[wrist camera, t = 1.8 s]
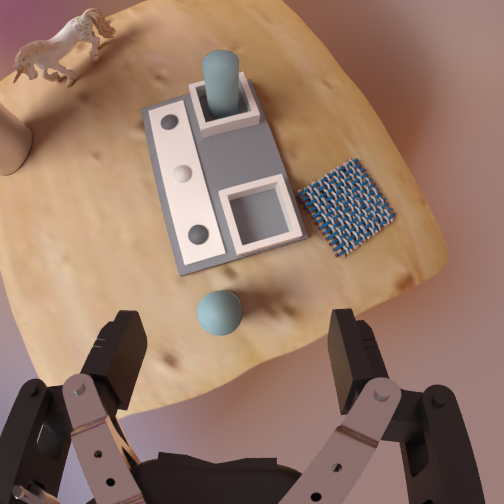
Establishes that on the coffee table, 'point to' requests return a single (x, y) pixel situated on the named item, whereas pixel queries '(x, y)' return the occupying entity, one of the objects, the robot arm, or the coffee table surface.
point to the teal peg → (219, 312)
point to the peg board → (220, 171)
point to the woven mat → (346, 206)
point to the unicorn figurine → (63, 47)
